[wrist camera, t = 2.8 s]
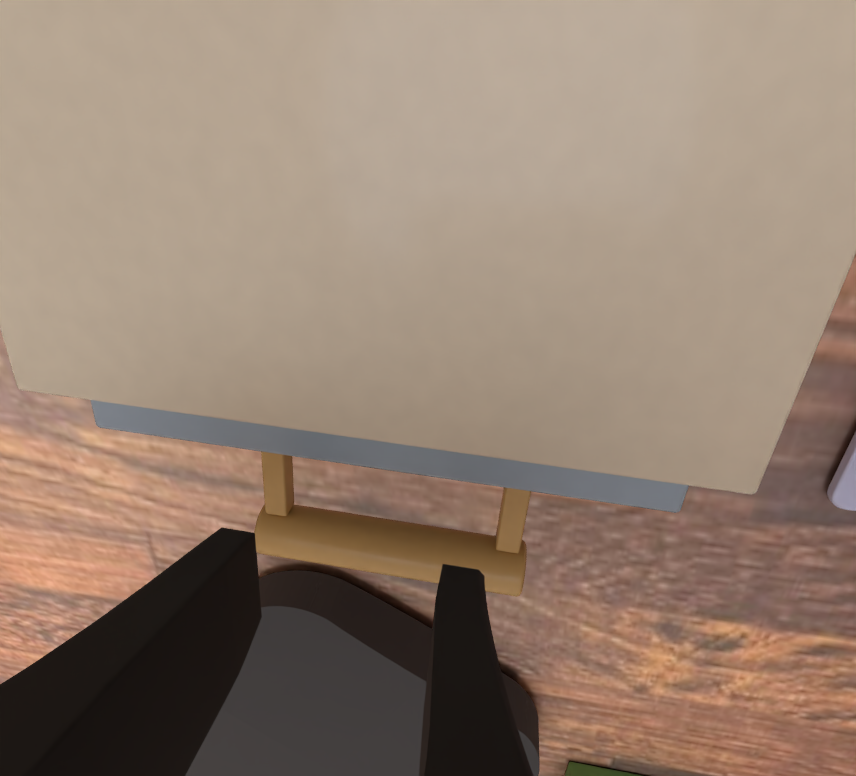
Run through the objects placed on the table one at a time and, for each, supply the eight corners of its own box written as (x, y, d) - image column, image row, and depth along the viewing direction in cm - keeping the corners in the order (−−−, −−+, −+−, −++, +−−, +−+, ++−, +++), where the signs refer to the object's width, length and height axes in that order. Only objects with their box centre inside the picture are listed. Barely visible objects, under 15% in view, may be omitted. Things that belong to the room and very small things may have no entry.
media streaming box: (281, 531, 22) (249, 588, 19) (576, 705, 24) (583, 779, 21) (160, 704, 28) (123, 766, 26) (399, 831, 30) (388, 900, 28)
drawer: (585, 501, 18) (619, 691, 12) (253, 452, 19) (134, 604, 13) (770, -236, 11) (1110, -713, 4) (199, -248, 12) (-145, -642, 6)
